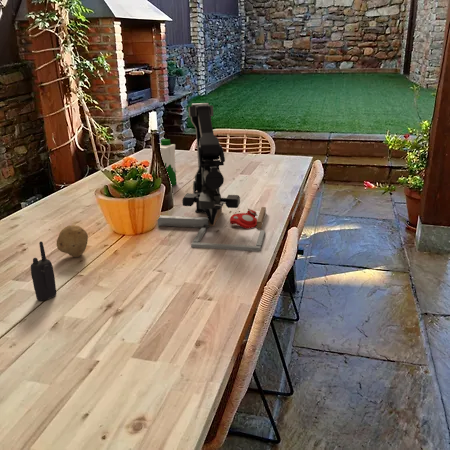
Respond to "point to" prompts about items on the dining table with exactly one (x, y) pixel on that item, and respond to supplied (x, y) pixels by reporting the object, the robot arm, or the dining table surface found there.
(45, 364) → the dining table surface
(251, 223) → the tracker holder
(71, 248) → the potato
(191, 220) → the bar
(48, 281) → the two-way radio
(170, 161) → the milk carton
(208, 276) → the dining table surface
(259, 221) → the stall
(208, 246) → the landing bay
